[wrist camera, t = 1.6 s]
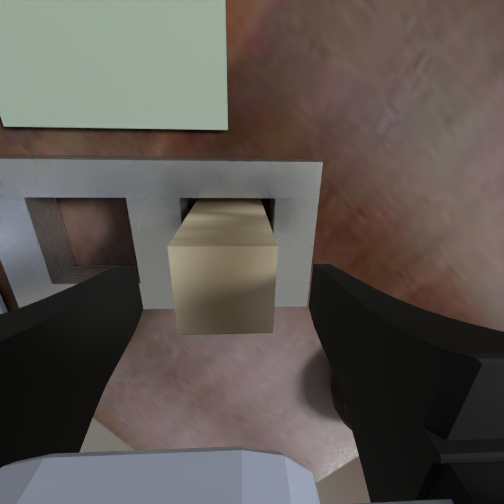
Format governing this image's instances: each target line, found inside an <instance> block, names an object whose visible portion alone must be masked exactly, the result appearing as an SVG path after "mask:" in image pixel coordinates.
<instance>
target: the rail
mask: <svg viewBox="0 0 504 504" xmlns="http://www.w3.org/2000/svg"><path fill="white" fill-rule="evenodd" d="M322 165H323V162H321V161H317V160H314V159H308V158H214V157H121V156H27V155H0V260H1V263H2V265H3V268H4V270H5V273H6V275H7V278H8V280H9V283H10V286H11V288H12V291H13V293H14V296H15V298H16V301H17V303H18V306H19V308H20V307H23V306H26V305H29V304H31V303H34V302H37V301H39V300H42V299H44V298H47V297H49V296H51V295H53V294H56V293H58V292H60V291H63V290H65V289H67V288H70V287H72V286H74V285H76V284H78V283H81V282H83V281H85V280H87V279H89V278H91V277H93V276H95V275H98V274H100V273H102V272H104V271H106V270H109V269H111V268H114V267H117V266H120V265H102V266H75V263H74V259H73V256H72V252H71V248H70V245H69V241H68V237H67V234H66V230H65V226H64V223H63V219H62V216H61V212H60V208H59V205H58V201H57V198H126V201H127V207H128V213H129V219H130V225H131V230H132V236H133V242H134V248H135V253H136V259H137V265H136V270H137V275H138V281H139V287H140V292H141V298H142V304H143V309H175V306H174V298H173V290H172V281H171V273H170V265H169V257H168V248H167V246H168V245H169V243H170V242H171V240H172V239H173V237H174V235H175V234H176V232H177V231H178V229H179V228H180V226H181V224H182V223H183V221H184V220H185V218H186V217H187V215H188V213H189V205H188V198H270V212H269V223H270V226H271V229H272V232H273V234H274V237H275V240H276V243H277V245H278V251H277V269H276V287H275V305H274V307H298V306H307V299H308V290H309V281H310V272H311V263H312V254H313V245H314V237H315V228H316V219H317V210H318V201H319V192H320V183H321V174H322Z"/></svg>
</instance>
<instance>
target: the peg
mask: <svg viewBox="0 0 504 504" xmlns="http://www.w3.org/2000/svg"><path fill="white" fill-rule="evenodd" d="M167 248H168V257H169V265H170V273H171V281H172V290H173V298H174V306H175V314H176V323H177V331H178V335H205V334H250V333H273V323H274V305H275V287H276V269H277V251H278V245H277V243H276V240H275V237H274V234H273V232H272V229H271V226H270V223H269V221H268V218H267V215H266V212H265V210H264V207H263V204H262V202H261V199H197V201H196V202H195V204H194V206H193V207H192V209H191V210H190V212H189V213H188V215H187V217H186V218H185V220H184V221H183V223H182V224H181V226H180V228H179V229H178V231H177V232H176V234H175V235H174V237H173V239H172V240H171V242H170V243H169V245H168V246H167Z"/></svg>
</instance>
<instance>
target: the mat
mask: <svg viewBox="0 0 504 504" xmlns="http://www.w3.org/2000/svg"><path fill="white" fill-rule="evenodd" d="M0 116H1V119H2V123H3V126H6V127H60V128H123V129H186V130H228V108H227V58H226V9H225V0H0Z"/></svg>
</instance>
